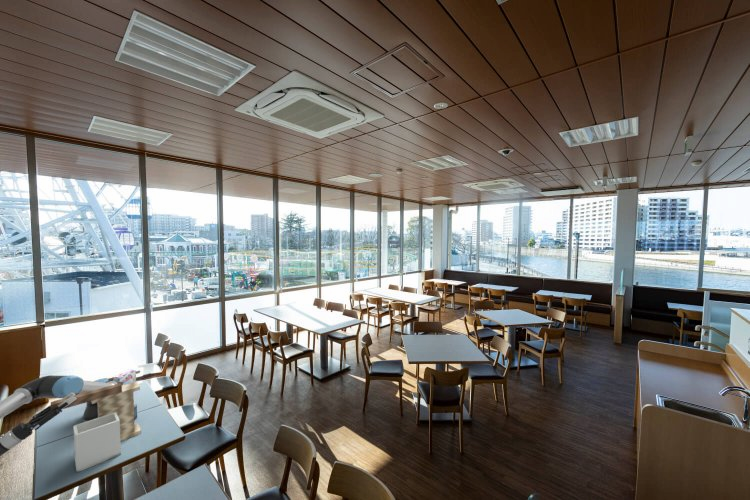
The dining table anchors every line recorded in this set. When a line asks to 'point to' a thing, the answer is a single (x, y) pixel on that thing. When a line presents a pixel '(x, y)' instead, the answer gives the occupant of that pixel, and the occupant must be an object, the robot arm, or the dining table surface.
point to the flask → (135, 411)
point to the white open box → (96, 441)
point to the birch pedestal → (121, 409)
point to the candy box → (126, 376)
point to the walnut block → (90, 396)
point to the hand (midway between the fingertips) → (74, 395)
